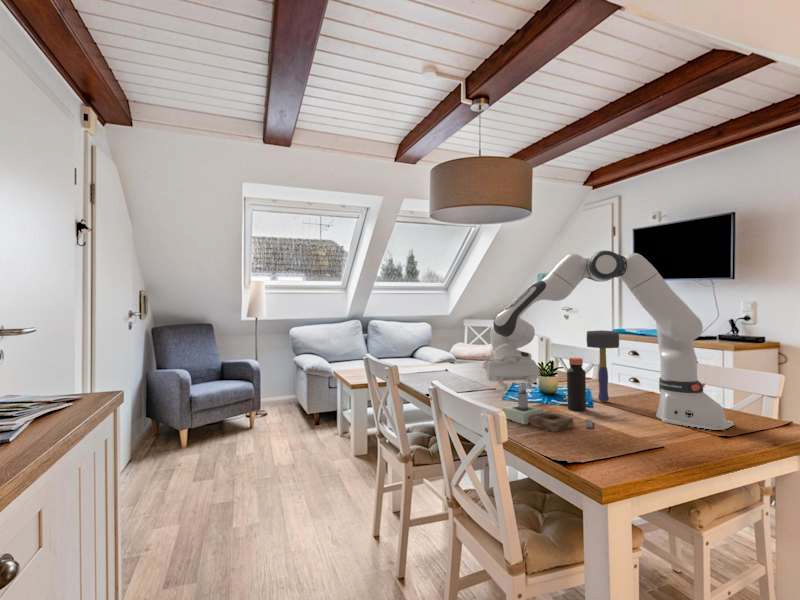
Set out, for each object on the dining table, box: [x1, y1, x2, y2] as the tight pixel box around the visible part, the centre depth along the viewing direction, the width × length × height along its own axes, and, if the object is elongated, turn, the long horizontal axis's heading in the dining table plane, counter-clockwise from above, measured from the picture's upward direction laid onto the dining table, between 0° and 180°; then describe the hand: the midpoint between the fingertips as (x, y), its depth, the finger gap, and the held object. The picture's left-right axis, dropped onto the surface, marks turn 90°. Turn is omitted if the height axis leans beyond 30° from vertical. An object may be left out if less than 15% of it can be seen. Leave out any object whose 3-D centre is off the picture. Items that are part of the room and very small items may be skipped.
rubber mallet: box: [586, 330, 620, 403], centre depth 180 cm, size 12×8×30 cm, turn 66°
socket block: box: [529, 411, 574, 433], centre depth 148 cm, size 10×10×3 cm
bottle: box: [566, 357, 587, 412], centre depth 169 cm, size 7×7×20 cm
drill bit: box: [517, 382, 529, 411], centre depth 156 cm, size 3×3×13 cm
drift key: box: [585, 419, 594, 430], centre depth 148 cm, size 8×2×1 cm, turn 157°
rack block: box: [502, 404, 544, 425], centre depth 156 cm, size 10×10×4 cm
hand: (517, 388), depth 160 cm, fingers open, 8 cm apart
